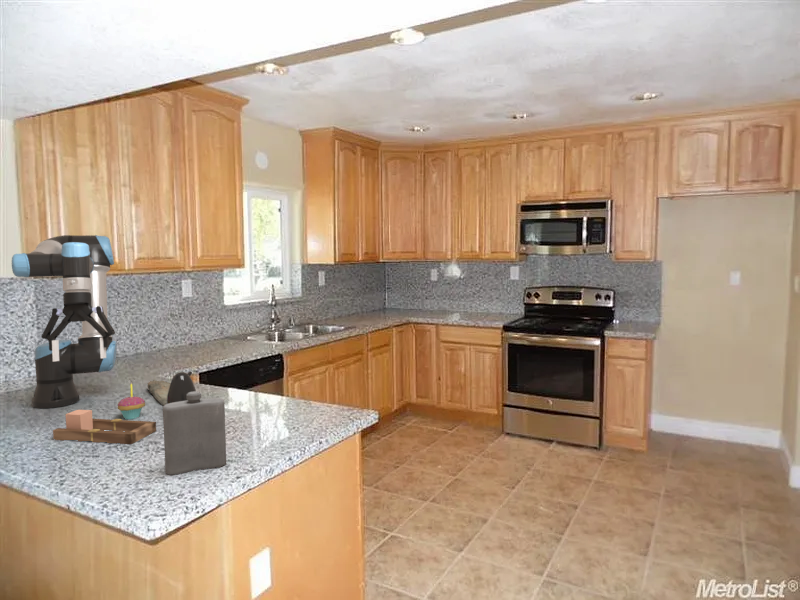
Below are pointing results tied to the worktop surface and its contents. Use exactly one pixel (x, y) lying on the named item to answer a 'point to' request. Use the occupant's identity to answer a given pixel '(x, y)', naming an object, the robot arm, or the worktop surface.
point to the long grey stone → (159, 390)
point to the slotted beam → (97, 434)
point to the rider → (79, 420)
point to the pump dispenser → (180, 387)
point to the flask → (194, 434)
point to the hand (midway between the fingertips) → (79, 359)
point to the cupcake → (131, 406)
